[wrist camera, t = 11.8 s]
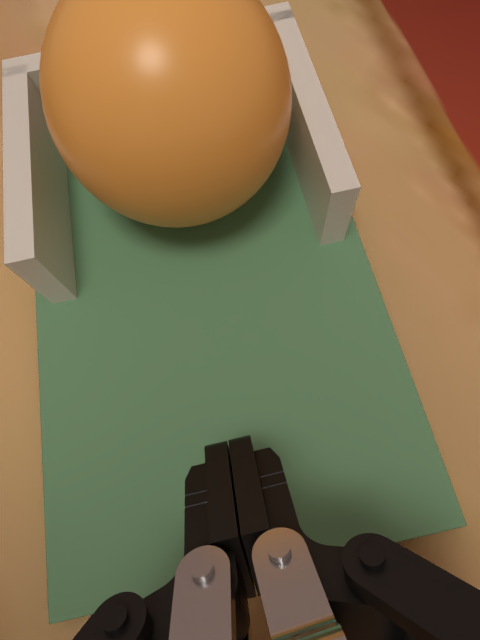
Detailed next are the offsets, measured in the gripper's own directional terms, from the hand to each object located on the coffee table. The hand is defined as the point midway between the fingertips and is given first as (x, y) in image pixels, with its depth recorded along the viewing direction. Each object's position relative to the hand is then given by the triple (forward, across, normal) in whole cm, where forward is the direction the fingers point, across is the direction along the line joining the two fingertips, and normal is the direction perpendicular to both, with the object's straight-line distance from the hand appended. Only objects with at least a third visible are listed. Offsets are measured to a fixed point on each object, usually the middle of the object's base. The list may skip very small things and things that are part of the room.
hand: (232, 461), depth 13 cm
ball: (+9, -1, -11) cm, 14 cm away
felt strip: (+10, 0, -3) cm, 10 cm away
